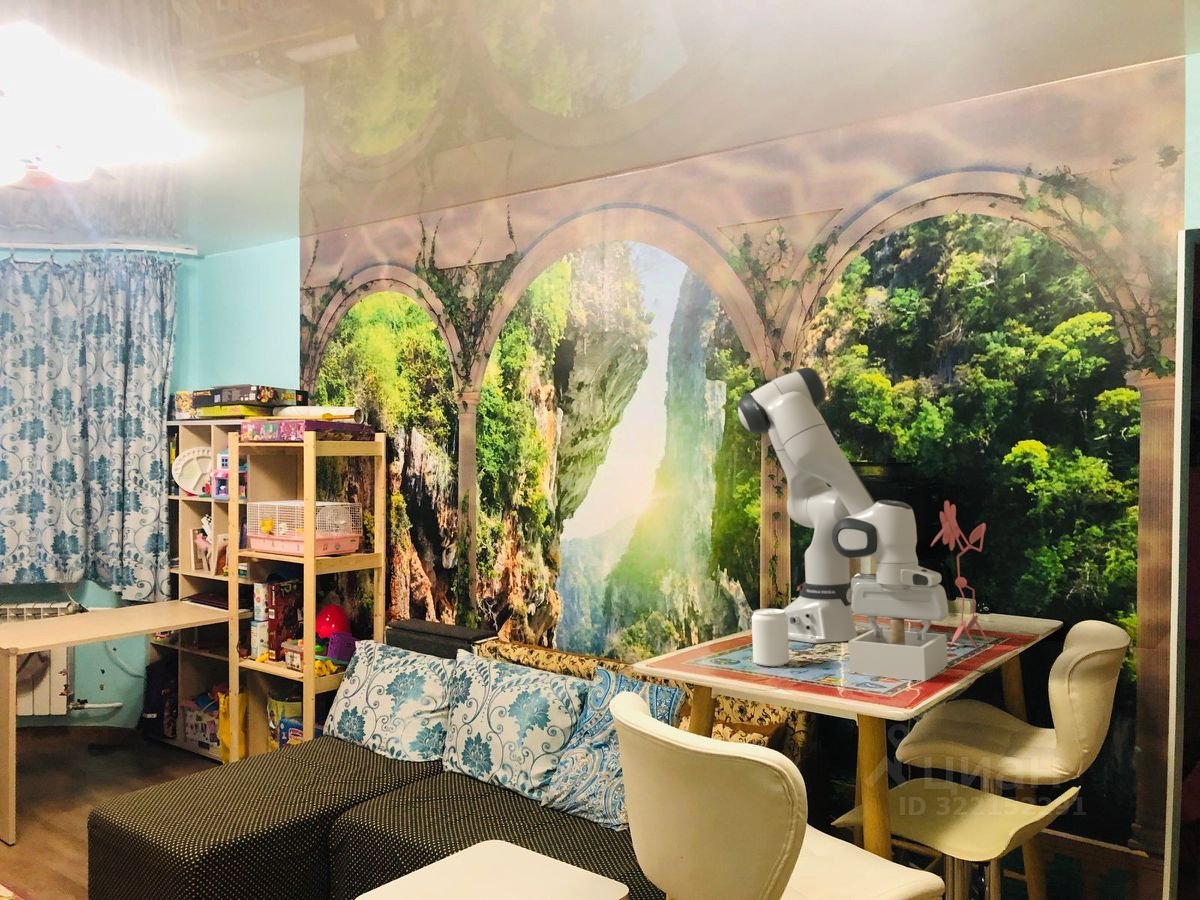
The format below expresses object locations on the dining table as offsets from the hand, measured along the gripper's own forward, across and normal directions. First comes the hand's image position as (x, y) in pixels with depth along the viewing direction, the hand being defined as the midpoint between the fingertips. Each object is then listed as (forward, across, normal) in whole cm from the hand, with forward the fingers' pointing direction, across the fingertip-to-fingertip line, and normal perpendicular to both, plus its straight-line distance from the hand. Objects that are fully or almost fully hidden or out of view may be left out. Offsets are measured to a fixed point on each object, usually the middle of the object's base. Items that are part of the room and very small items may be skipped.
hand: (899, 638), depth 197 cm
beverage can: (+7, -27, -7) cm, 29 cm away
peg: (+6, 0, 0) cm, 6 cm away
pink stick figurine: (+7, +2, +35) cm, 36 cm away
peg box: (+7, 0, 0) cm, 7 cm away
